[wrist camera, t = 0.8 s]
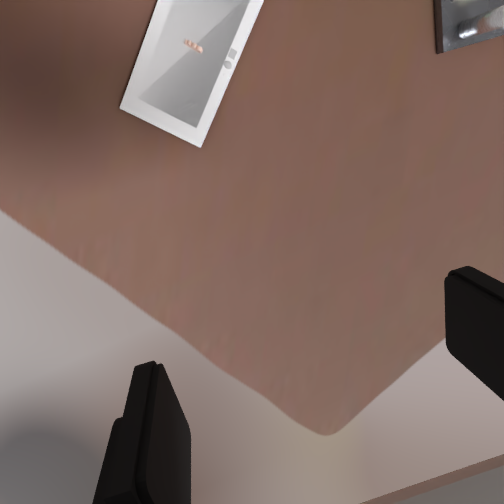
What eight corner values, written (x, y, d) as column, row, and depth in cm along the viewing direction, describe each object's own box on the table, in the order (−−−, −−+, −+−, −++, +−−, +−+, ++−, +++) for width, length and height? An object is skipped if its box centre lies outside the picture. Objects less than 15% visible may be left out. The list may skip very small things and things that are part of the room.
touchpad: (121, 108, 32) (117, 107, 30) (185, -69, 28) (184, -83, 26) (200, 147, 34) (200, 148, 32) (268, -13, 30) (273, -22, 28)
